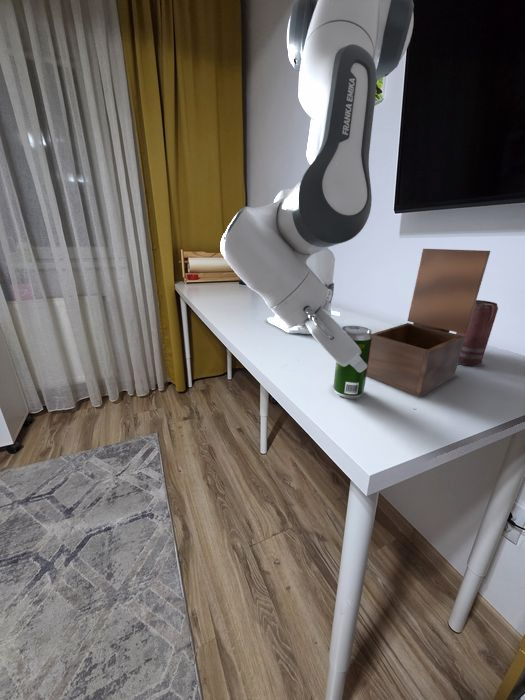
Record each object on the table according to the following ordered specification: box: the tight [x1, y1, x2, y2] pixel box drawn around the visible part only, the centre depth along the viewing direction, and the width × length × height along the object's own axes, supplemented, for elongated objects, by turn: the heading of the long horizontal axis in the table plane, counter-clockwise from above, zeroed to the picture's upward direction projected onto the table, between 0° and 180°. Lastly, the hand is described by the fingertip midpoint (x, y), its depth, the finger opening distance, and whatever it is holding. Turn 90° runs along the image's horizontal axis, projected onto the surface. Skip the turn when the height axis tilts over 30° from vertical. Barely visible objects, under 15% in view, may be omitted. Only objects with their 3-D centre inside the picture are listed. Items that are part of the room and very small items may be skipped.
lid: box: [407, 248, 491, 334], centre depth 59 cm, size 15×12×5 cm
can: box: [455, 299, 499, 367], centre depth 65 cm, size 6×6×14 cm
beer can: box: [333, 325, 372, 400], centre depth 51 cm, size 5×5×12 cm
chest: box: [366, 322, 465, 398], centre depth 58 cm, size 15×12×9 cm
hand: (353, 357), depth 51 cm, fingers open, 8 cm apart
